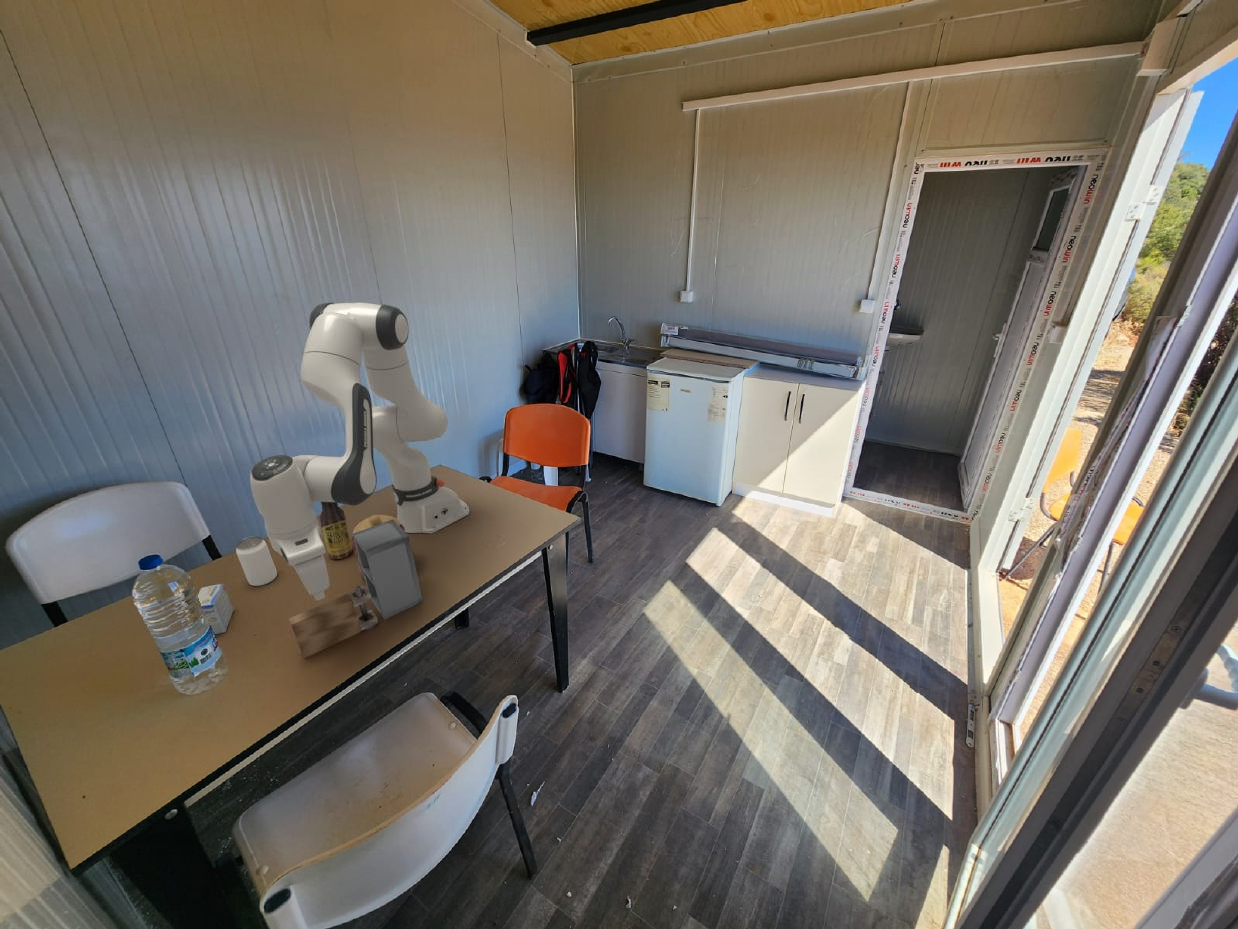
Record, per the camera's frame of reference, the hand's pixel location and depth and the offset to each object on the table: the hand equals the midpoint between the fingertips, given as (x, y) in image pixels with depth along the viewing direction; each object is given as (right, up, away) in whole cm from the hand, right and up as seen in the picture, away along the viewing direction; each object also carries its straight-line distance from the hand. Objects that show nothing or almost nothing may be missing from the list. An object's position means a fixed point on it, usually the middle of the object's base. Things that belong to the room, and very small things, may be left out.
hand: (314, 586), depth 106 cm
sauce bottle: (-14, 0, +36) cm, 39 cm away
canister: (+2, -3, +30) cm, 30 cm away
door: (+1, -14, +8) cm, 16 cm away
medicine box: (-30, -12, +11) cm, 34 cm away
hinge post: (+6, -12, +12) cm, 18 cm away
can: (-30, -5, +26) cm, 40 cm away
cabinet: (+9, -8, +19) cm, 23 cm away
